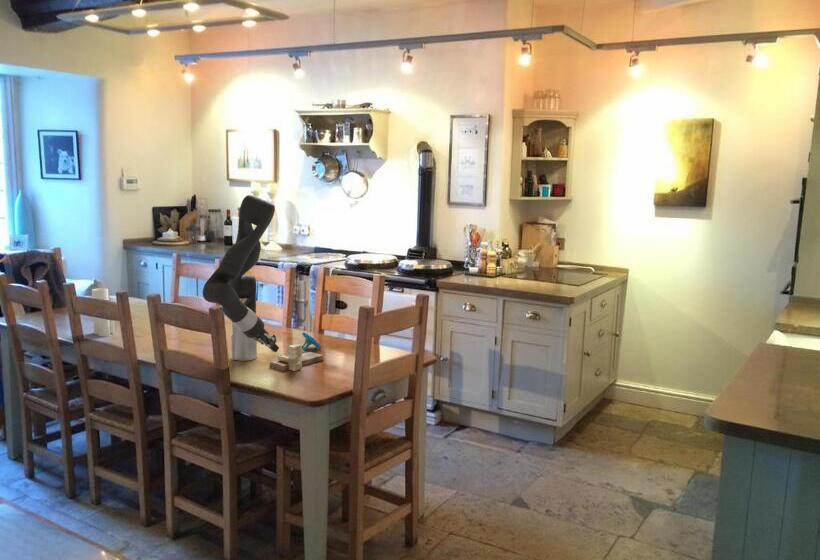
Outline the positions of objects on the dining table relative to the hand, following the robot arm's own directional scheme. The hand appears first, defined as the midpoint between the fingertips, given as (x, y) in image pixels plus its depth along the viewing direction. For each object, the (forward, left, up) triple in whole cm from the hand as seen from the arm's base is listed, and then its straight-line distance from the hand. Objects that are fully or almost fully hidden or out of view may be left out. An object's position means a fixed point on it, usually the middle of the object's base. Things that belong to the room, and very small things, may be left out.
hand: (276, 349), depth 238 cm
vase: (-83, +68, -10) cm, 107 cm away
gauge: (+4, +9, -9) cm, 13 cm away
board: (+6, +15, -9) cm, 19 cm away
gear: (+11, +37, -10) cm, 39 cm away
